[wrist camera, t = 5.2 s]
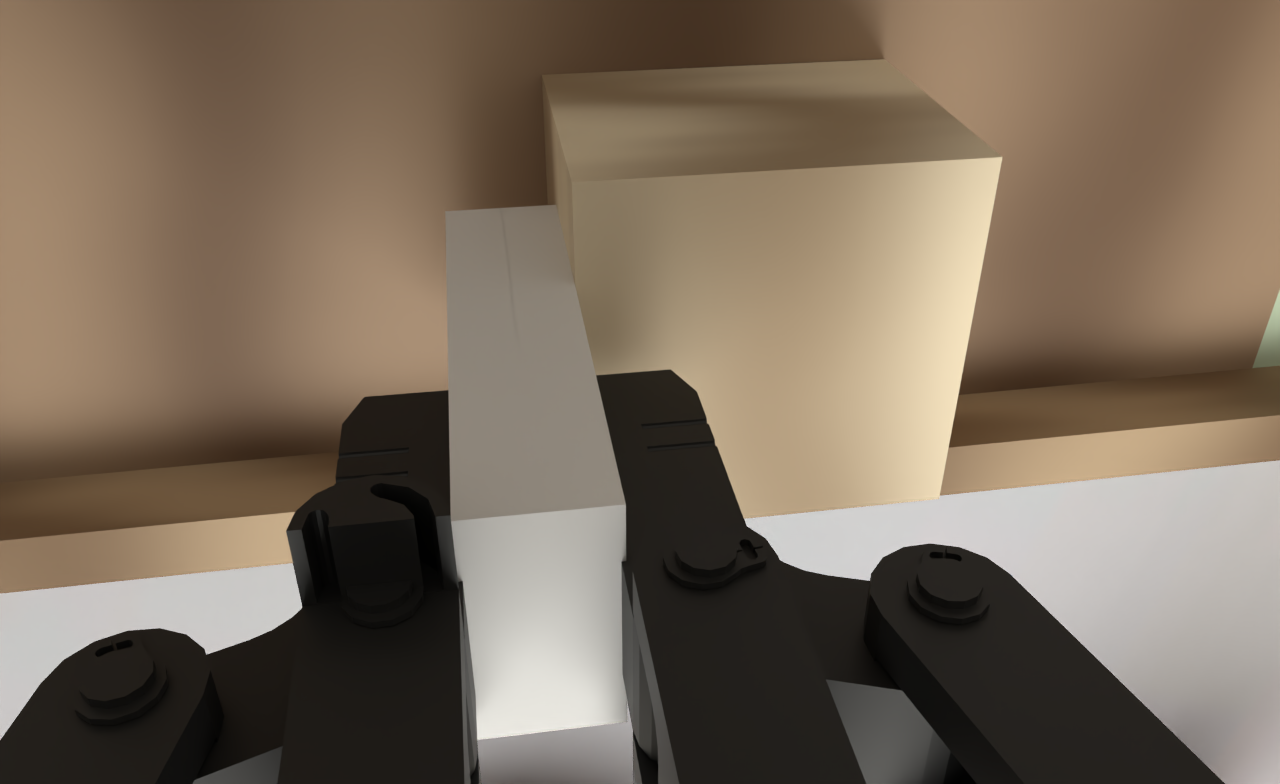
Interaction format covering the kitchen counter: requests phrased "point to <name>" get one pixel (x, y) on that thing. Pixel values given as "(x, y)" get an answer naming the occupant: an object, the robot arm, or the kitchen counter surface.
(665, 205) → the maple block
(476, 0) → the board
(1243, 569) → the kitchen counter surface
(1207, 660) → the kitchen counter surface
